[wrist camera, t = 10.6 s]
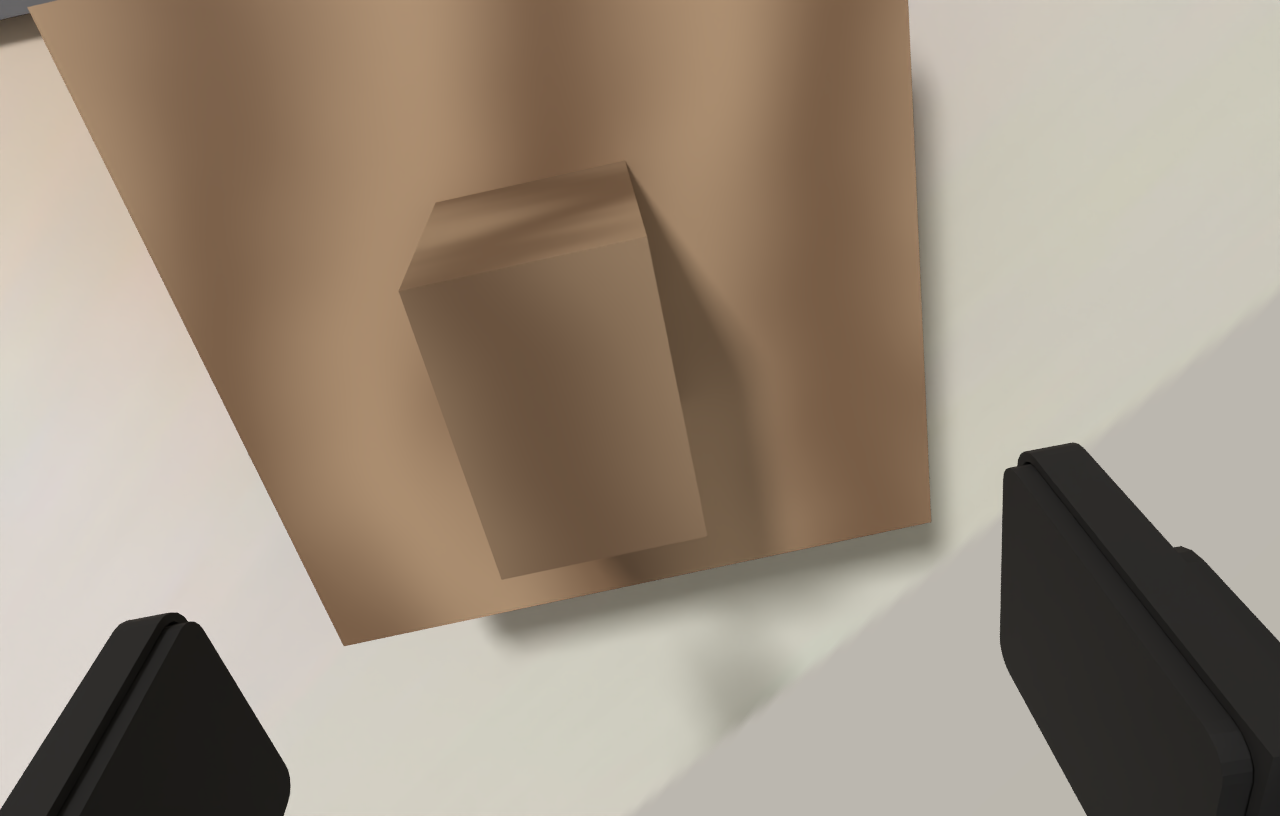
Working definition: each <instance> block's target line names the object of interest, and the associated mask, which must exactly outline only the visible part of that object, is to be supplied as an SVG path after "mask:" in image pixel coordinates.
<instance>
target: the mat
mask: <svg viewBox="0 0 1280 816" xmlns="http://www.w3.org/2000/svg"><path fill="white" fill-rule="evenodd" d="M52 1H57V0H0V20H2V19H7V18H11V17H16V16H20V15H25V14H29V13H30V12H29V10H28V8H27V7H31V6H35V5H39V4H44V3H48V2H52Z"/></svg>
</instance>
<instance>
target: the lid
mask: <svg viewBox="0 0 1280 816" xmlns="http://www.w3.org/2000/svg"><path fill="white" fill-rule="evenodd" d="M27 8H28V10H29V12H30V14H31V16H32V18H33V20H34V22H35V24H36V26H37V28H38V30H39V32H40V34H41V36H42V38H43V40H44V42H45V44H46V46H47V48H48V50H49V52H50V54H51V56H52V58H53V60H54V62H55V64H56V66H57V68H58V70H59V72H60V74H61V76H62V78H63V80H64V82H65V84H66V86H67V88H68V90H69V92H70V94H71V96H72V98H73V101H74V103H75V105H76V107H77V109H78V111H79V113H80V115H81V117H82V119H83V121H84V123H85V125H86V127H87V129H88V131H89V133H90V135H91V137H92V139H93V141H94V143H95V145H96V147H97V149H98V151H99V153H100V155H101V157H102V159H103V161H104V163H105V165H106V167H107V169H108V171H109V173H110V175H111V177H112V179H113V181H114V183H115V185H116V187H117V189H118V191H119V193H120V195H121V197H122V199H123V201H124V203H125V205H126V207H127V209H128V212H129V214H130V216H131V218H132V220H133V222H134V224H135V226H136V228H137V230H138V232H139V234H140V236H141V238H142V240H143V242H144V244H145V246H146V248H147V250H148V252H149V254H150V256H151V258H152V260H153V262H154V264H155V266H156V268H157V270H158V272H159V274H160V276H161V278H162V280H163V282H164V284H165V286H166V288H167V290H168V292H169V294H170V296H171V298H172V300H173V302H174V304H175V306H176V308H177V310H178V312H179V314H180V316H181V318H182V320H183V323H184V325H185V327H186V329H187V331H188V333H189V335H190V337H191V339H192V341H193V343H194V345H195V347H196V349H197V351H198V353H199V355H200V357H201V359H202V361H203V363H204V365H205V367H206V369H207V371H208V373H209V375H210V377H211V379H212V381H213V383H214V385H215V387H216V389H217V391H218V393H219V395H220V397H221V399H222V401H223V403H224V405H225V407H226V409H227V411H228V413H229V415H230V417H231V419H232V421H233V423H234V425H235V427H236V429H237V431H238V433H239V436H240V438H241V440H242V442H243V444H244V446H245V448H246V450H247V452H248V454H249V456H250V458H251V460H252V462H253V464H254V466H255V468H256V470H257V472H258V474H259V476H260V478H261V480H262V482H263V484H264V486H265V488H266V490H267V492H268V494H269V496H270V498H271V500H272V502H273V504H274V506H275V508H276V510H277V512H278V514H279V516H280V518H281V520H282V522H283V524H284V526H285V528H286V530H287V532H288V534H289V536H290V538H291V540H292V542H293V544H294V547H295V549H296V551H297V553H298V555H299V557H300V559H301V561H302V563H303V565H304V567H305V569H306V571H307V573H308V575H309V577H310V579H311V581H312V583H313V585H314V587H315V589H316V591H317V593H318V595H319V597H320V599H321V601H322V603H323V605H324V607H325V609H326V611H327V613H328V615H329V617H330V619H331V621H332V623H333V625H334V627H335V629H336V631H337V633H338V635H339V637H340V639H341V641H342V643H343V645H344V646H347V645H352V644H357V643H361V642H366V641H371V640H376V639H380V638H385V637H390V636H394V635H399V634H404V633H409V632H413V631H418V630H423V629H428V628H432V627H437V626H442V625H447V624H451V623H456V622H461V621H465V620H470V619H475V618H480V617H484V616H489V615H494V614H499V613H503V612H508V611H513V610H517V609H522V608H527V607H532V606H536V605H541V604H546V603H551V602H555V601H560V600H565V599H570V598H574V597H579V596H584V595H588V594H593V593H598V592H603V591H607V590H612V589H617V588H622V587H626V586H631V585H636V584H640V583H645V582H650V581H655V580H659V579H664V578H669V577H674V576H678V575H683V574H688V573H693V572H697V571H702V570H707V569H711V568H716V567H721V566H726V565H730V564H735V563H740V562H745V561H749V560H754V559H759V558H763V557H768V556H773V555H778V554H782V553H787V552H792V551H797V550H801V549H806V548H811V547H816V546H820V545H825V544H830V543H834V542H839V541H844V540H849V539H853V538H858V537H863V536H868V535H872V534H877V533H882V532H886V531H891V530H896V529H901V528H905V527H910V526H915V525H920V524H924V523H929V522H931V508H930V485H929V462H928V440H927V417H926V395H925V372H924V350H923V327H922V304H921V282H920V259H919V237H918V214H917V192H916V169H915V146H914V124H913V101H912V79H911V56H910V34H909V11H908V0H57V1H52V2H48V3H44V4H39V5H35V6H31V7H27Z"/></svg>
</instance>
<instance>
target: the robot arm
mask: <svg viewBox="0 0 1280 816" xmlns="http://www.w3.org/2000/svg"><path fill="white" fill-rule="evenodd" d="M1000 645H1001V650H1002V655H1003V658H1004V661H1005V664H1006V667H1007V669H1008V671H1009V673H1010V675H1011V677H1012V679H1013V681H1014V683H1015V684H1016V686H1017V688H1018V690H1019V692H1020V694H1021V695H1022V697H1023V699H1024V701H1025V703H1026V705H1027V706H1028V708H1029V710H1030V712H1031V714H1032V715H1033V717H1034V719H1035V721H1036V723H1037V725H1038V727H1039V728H1040V730H1041V732H1042V734H1043V736H1044V737H1045V739H1046V741H1047V743H1048V745H1049V747H1050V748H1051V750H1052V752H1053V754H1054V756H1055V758H1056V760H1057V761H1058V763H1059V765H1060V767H1061V769H1062V770H1063V772H1064V774H1065V776H1066V778H1067V779H1068V782H1069V783H1070V785H1071V787H1072V789H1073V791H1074V793H1075V794H1076V796H1077V798H1078V800H1079V802H1080V803H1081V805H1082V807H1083V809H1084V811H1085V813H1086V815H1087V816H1280V642H1279V641H1278V640H1277V639H1276V638H1275V637H1274V636H1273V634H1272V633H1271V632H1270V631H1269V630H1268V629H1267V628H1266V627H1265V626H1264V625H1263V624H1262V623H1261V621H1260V620H1258V618H1257V617H1256V616H1255V615H1254V614H1253V613H1252V612H1251V611H1250V610H1249V608H1248V607H1247V606H1246V605H1245V604H1244V603H1243V602H1242V601H1241V600H1240V599H1239V598H1238V597H1237V596H1236V594H1235V593H1234V592H1233V591H1232V590H1231V589H1230V588H1229V587H1228V586H1227V585H1226V584H1225V583H1224V582H1223V580H1222V579H1221V578H1220V577H1219V576H1218V575H1217V574H1216V573H1215V572H1214V571H1213V570H1212V569H1211V568H1210V566H1209V565H1208V564H1207V563H1206V562H1205V561H1204V560H1203V559H1202V558H1200V557H1199V556H1198V555H1197V554H1196V553H1194V552H1193V551H1192V550H1189V549H1187V548H1184V547H1182V546H1180V547H1174V548H1173V547H1172V546H1171V544H1170V543H1169V542H1168V541H1167V540H1166V539H1165V538H1164V537H1163V536H1162V534H1161V533H1160V532H1159V531H1158V530H1157V529H1156V528H1155V527H1154V526H1153V525H1152V523H1151V522H1150V521H1149V520H1148V519H1147V518H1146V517H1145V516H1144V514H1143V513H1142V512H1141V511H1140V510H1139V509H1138V508H1137V507H1136V506H1135V505H1134V503H1133V502H1132V501H1131V500H1130V499H1129V498H1128V497H1127V496H1126V495H1125V493H1124V492H1123V491H1122V490H1121V489H1120V488H1119V487H1118V486H1117V485H1116V483H1115V482H1114V481H1113V480H1112V479H1111V478H1110V477H1109V476H1108V475H1107V473H1106V472H1105V471H1104V470H1103V469H1102V468H1101V467H1100V466H1099V465H1098V463H1096V461H1095V460H1094V459H1093V458H1092V457H1091V456H1090V454H1089V453H1088V452H1087V451H1086V450H1085V449H1084V448H1083V447H1082V446H1080V445H1079V444H1077V443H1068V444H1063V445H1057V446H1052V447H1047V448H1041V449H1036V450H1031V451H1025V452H1023V453H1021V454H1020V457H1019V459H1018V465H1017V467H1011V468H1008V469H1006V470H1005V472H1004V477H1003V515H1002V564H1001V614H1000ZM289 796H290V776H289V772H288V769H287V767H286V765H285V763H284V762H283V760H282V758H281V757H280V755H279V753H278V752H277V750H276V748H275V747H274V745H273V743H272V742H271V740H270V738H269V737H268V735H267V734H266V732H265V730H264V729H263V727H262V725H261V724H260V722H259V720H258V719H257V717H256V715H255V714H254V712H253V710H252V709H251V707H250V706H249V704H248V702H247V701H246V699H245V697H244V696H243V694H242V692H241V691H240V689H239V687H238V686H237V684H236V682H235V681H234V679H233V678H232V676H231V674H230V673H229V671H228V669H227V668H226V666H225V664H224V663H223V661H222V659H221V658H220V656H219V654H218V653H217V651H216V650H215V648H214V646H213V645H212V643H211V641H210V640H209V638H208V636H207V635H206V633H205V631H204V630H203V628H202V627H201V626H200V625H199V624H197V623H196V622H188V621H187V620H186V618H185V617H184V616H182V615H180V614H179V613H165V614H160V615H155V616H149V617H144V618H139V619H134V620H128V621H125V622H123V623H121V624H120V625H119V626H118V627H117V628H116V629H115V630H114V631H113V633H112V635H111V636H110V638H109V639H108V641H107V642H106V644H105V646H104V647H103V649H102V650H101V652H100V653H99V655H98V657H97V658H96V660H95V661H94V663H93V664H92V666H91V668H90V669H89V671H88V672H87V674H86V675H85V677H84V679H83V680H82V682H81V683H80V685H79V687H78V688H77V690H76V691H75V693H74V694H73V696H72V698H71V699H70V701H69V702H68V704H67V705H66V707H65V709H64V710H63V712H62V713H61V715H60V716H59V718H58V720H57V721H56V723H55V724H54V726H53V727H52V729H51V731H50V732H49V734H48V735H47V737H46V739H45V740H44V742H43V743H42V745H41V746H40V748H39V750H38V751H37V753H36V754H35V756H34V757H33V759H32V761H31V762H30V764H29V765H28V767H27V768H26V770H25V772H24V773H23V775H22V776H21V778H20V779H19V781H18V783H17V784H16V786H15V787H14V789H13V790H12V792H11V794H10V795H9V797H8V798H7V800H6V802H5V803H4V805H3V806H2V808H1V809H0V816H284V813H285V810H286V807H287V804H288V800H289Z"/></svg>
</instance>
